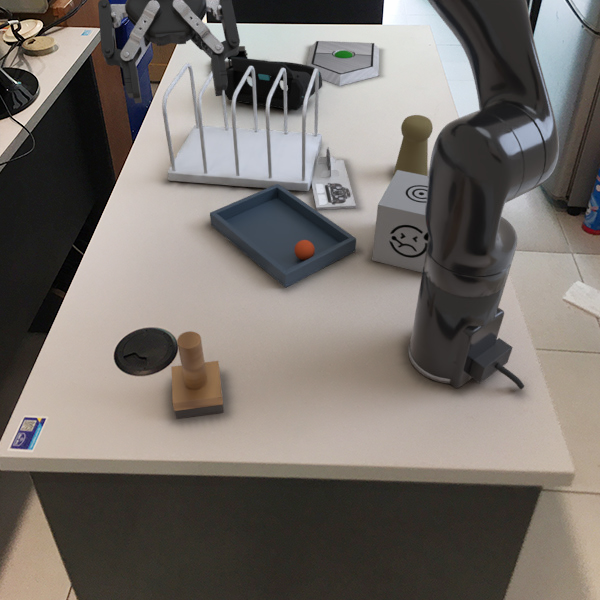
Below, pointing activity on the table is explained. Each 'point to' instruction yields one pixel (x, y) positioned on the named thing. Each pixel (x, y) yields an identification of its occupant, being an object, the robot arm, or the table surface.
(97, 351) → the table surface
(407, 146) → the olive game pawn
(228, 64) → the black block
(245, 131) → the file sorter
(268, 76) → the virtual reality headset
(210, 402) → the wooden stamp
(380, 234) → the icon cube
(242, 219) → the tray
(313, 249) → the crumb ball
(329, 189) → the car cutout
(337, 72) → the security device
